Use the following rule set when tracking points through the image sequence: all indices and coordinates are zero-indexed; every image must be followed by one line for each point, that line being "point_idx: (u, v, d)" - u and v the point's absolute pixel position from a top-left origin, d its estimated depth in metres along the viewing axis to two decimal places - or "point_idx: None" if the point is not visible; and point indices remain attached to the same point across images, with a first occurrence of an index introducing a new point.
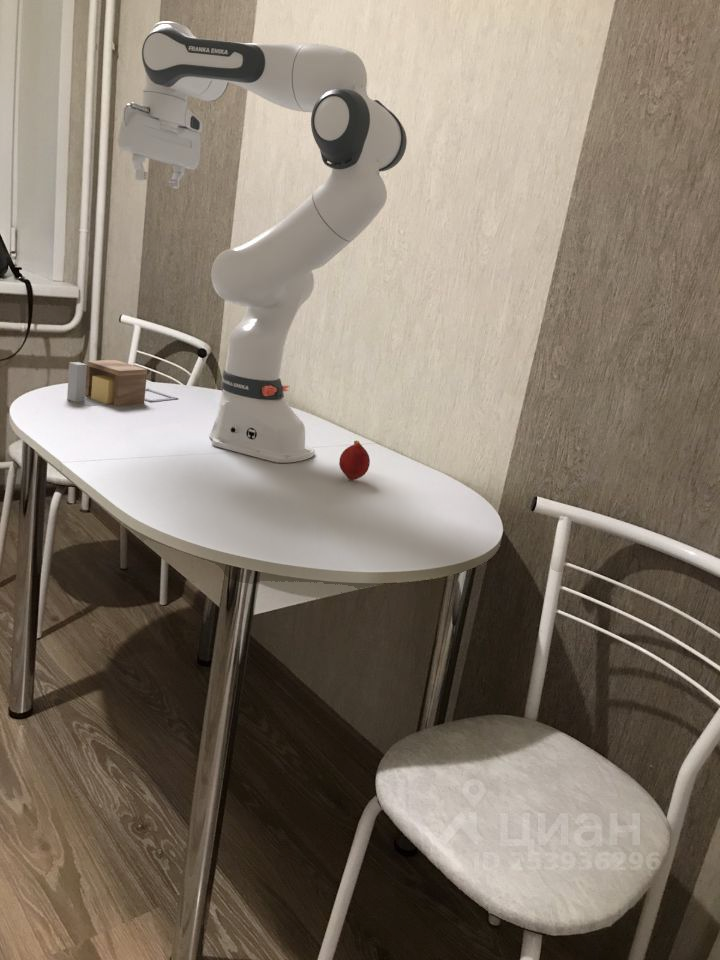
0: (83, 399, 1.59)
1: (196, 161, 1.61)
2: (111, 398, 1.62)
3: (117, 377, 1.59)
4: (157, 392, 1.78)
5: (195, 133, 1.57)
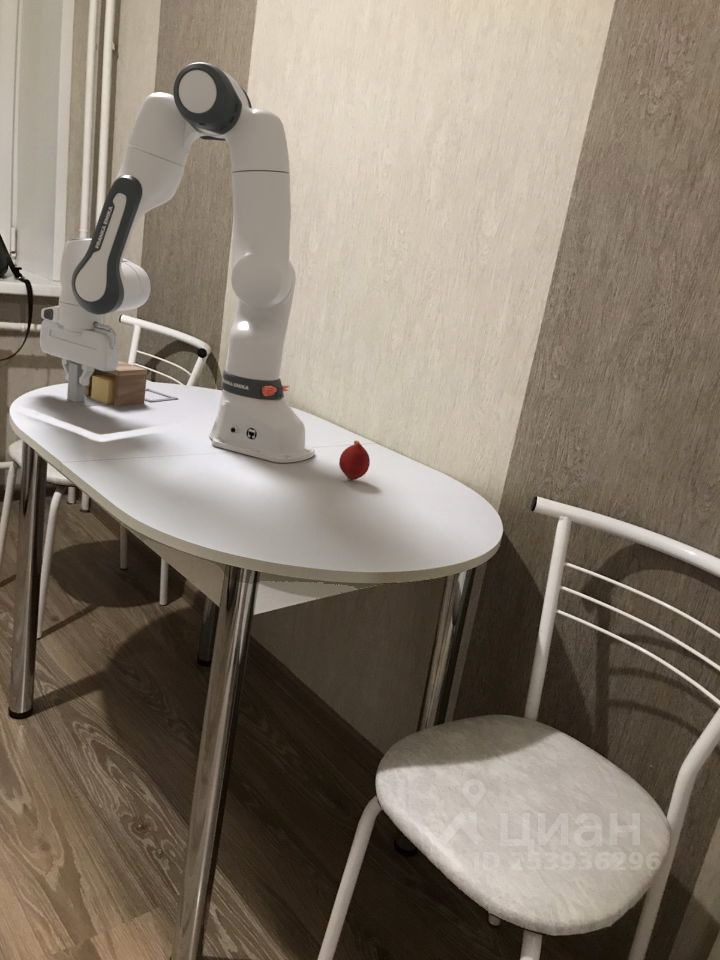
0: (83, 399, 1.59)
1: None
2: (111, 398, 1.62)
3: (117, 377, 1.59)
4: (157, 392, 1.78)
5: None
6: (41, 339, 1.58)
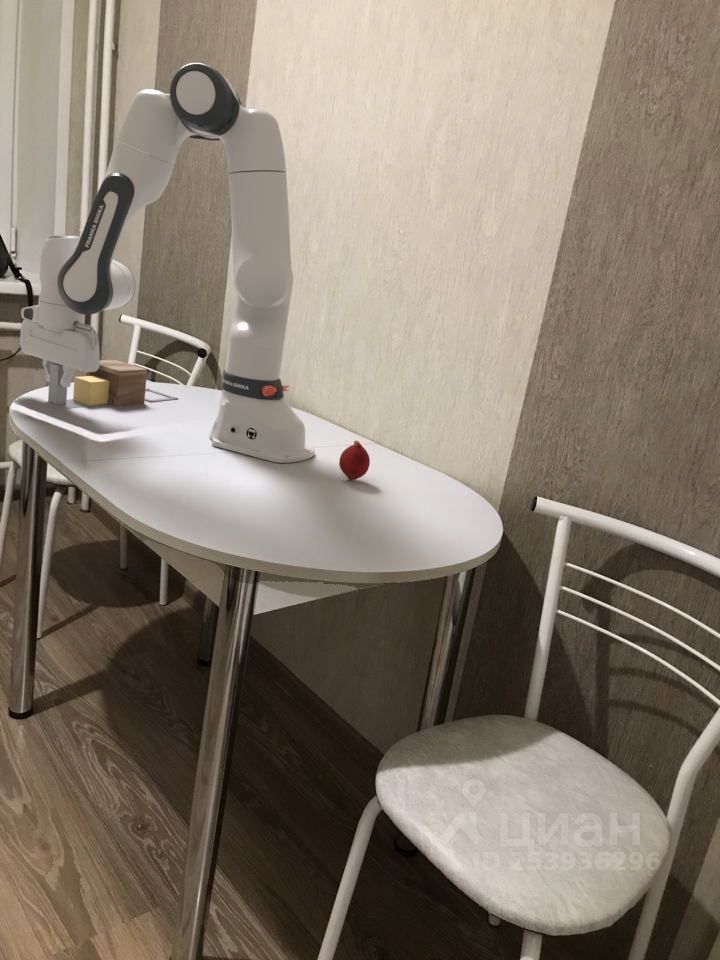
0: (65, 401, 1.55)
1: None
2: (94, 399, 1.57)
3: (117, 377, 1.59)
4: (157, 392, 1.78)
5: None
6: (21, 339, 1.54)
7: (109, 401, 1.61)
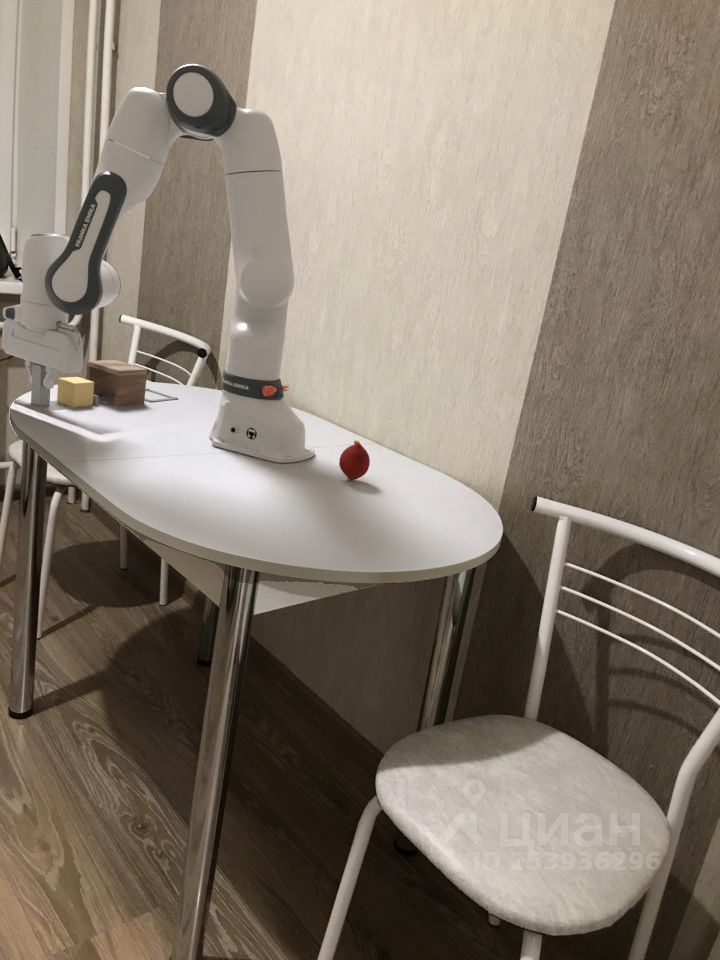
0: (48, 402, 1.51)
1: None
2: (78, 401, 1.54)
3: (117, 377, 1.59)
4: (157, 392, 1.78)
5: None
6: (3, 339, 1.50)
7: (94, 403, 1.58)
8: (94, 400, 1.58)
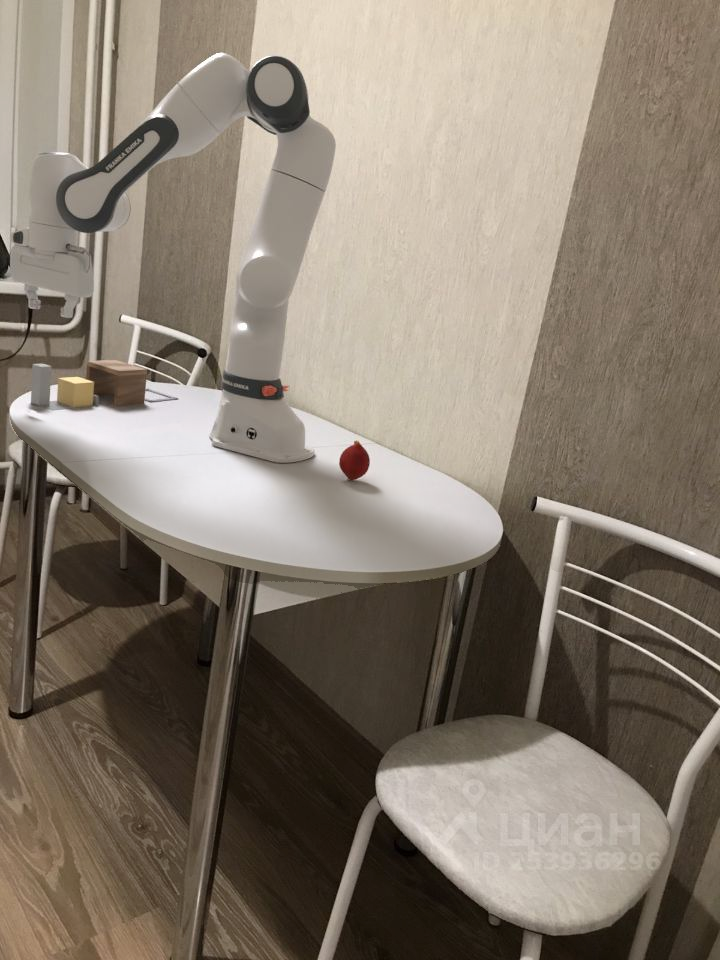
0: (48, 402, 1.51)
1: None
2: (78, 401, 1.54)
3: (117, 377, 1.59)
4: (157, 392, 1.78)
5: None
6: (11, 266, 1.48)
7: (94, 403, 1.58)
8: (94, 400, 1.58)
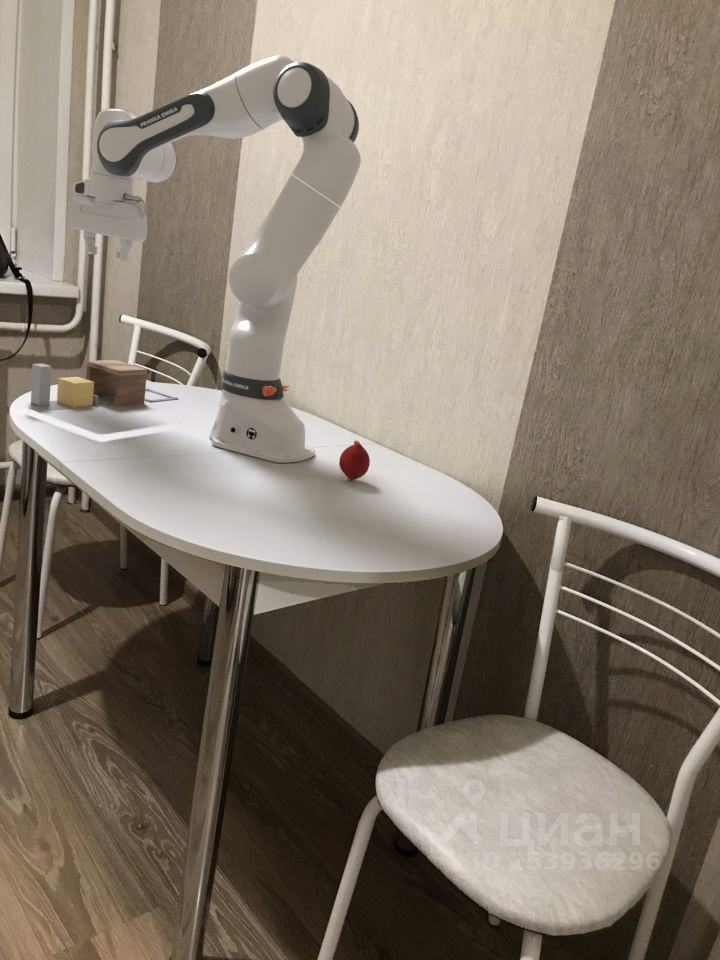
0: (48, 402, 1.51)
1: None
2: (78, 401, 1.54)
3: (117, 377, 1.59)
4: (157, 392, 1.78)
5: None
6: (72, 215, 1.64)
7: (94, 403, 1.58)
8: (94, 400, 1.58)
